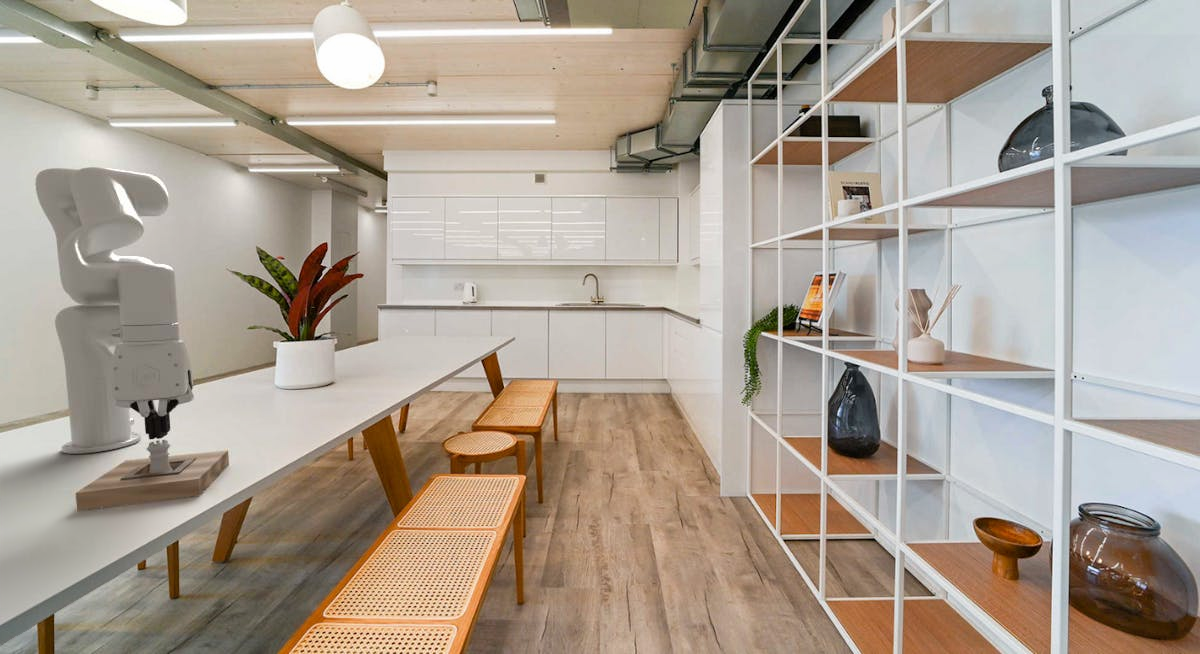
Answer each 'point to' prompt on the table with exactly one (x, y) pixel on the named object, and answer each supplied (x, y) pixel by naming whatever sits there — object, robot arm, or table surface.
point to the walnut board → (153, 481)
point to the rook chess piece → (159, 456)
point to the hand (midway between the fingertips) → (158, 436)
